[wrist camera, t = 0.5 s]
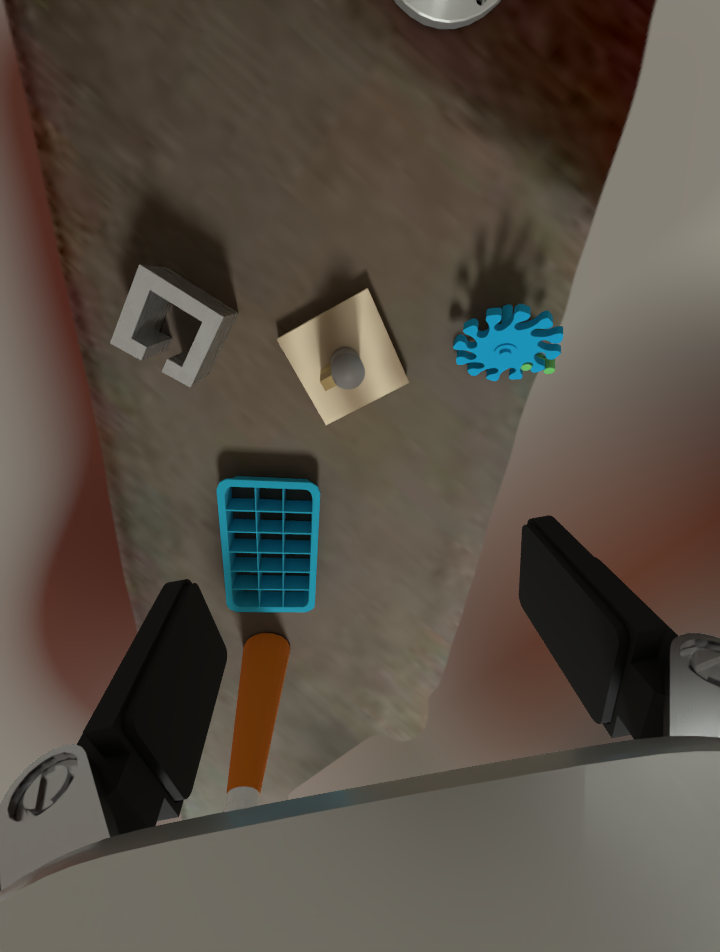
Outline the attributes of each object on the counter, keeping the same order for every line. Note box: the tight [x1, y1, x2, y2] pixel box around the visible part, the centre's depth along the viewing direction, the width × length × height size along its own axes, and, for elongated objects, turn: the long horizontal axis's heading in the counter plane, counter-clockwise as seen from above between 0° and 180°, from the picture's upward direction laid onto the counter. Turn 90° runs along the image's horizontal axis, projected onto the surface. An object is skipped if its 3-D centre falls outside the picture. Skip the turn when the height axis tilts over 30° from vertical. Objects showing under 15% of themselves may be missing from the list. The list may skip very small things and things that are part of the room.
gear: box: [453, 304, 563, 381], centre depth 38 cm, size 11×6×10 cm
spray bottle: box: [223, 633, 290, 812], centre depth 47 cm, size 7×11×26 cm, turn 160°
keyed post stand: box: [277, 288, 409, 425], centre depth 37 cm, size 10×10×7 cm
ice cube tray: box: [217, 476, 320, 612], centre depth 48 cm, size 12×20×3 cm, turn 175°
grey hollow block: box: [110, 264, 238, 388], centre depth 34 cm, size 7×7×6 cm
